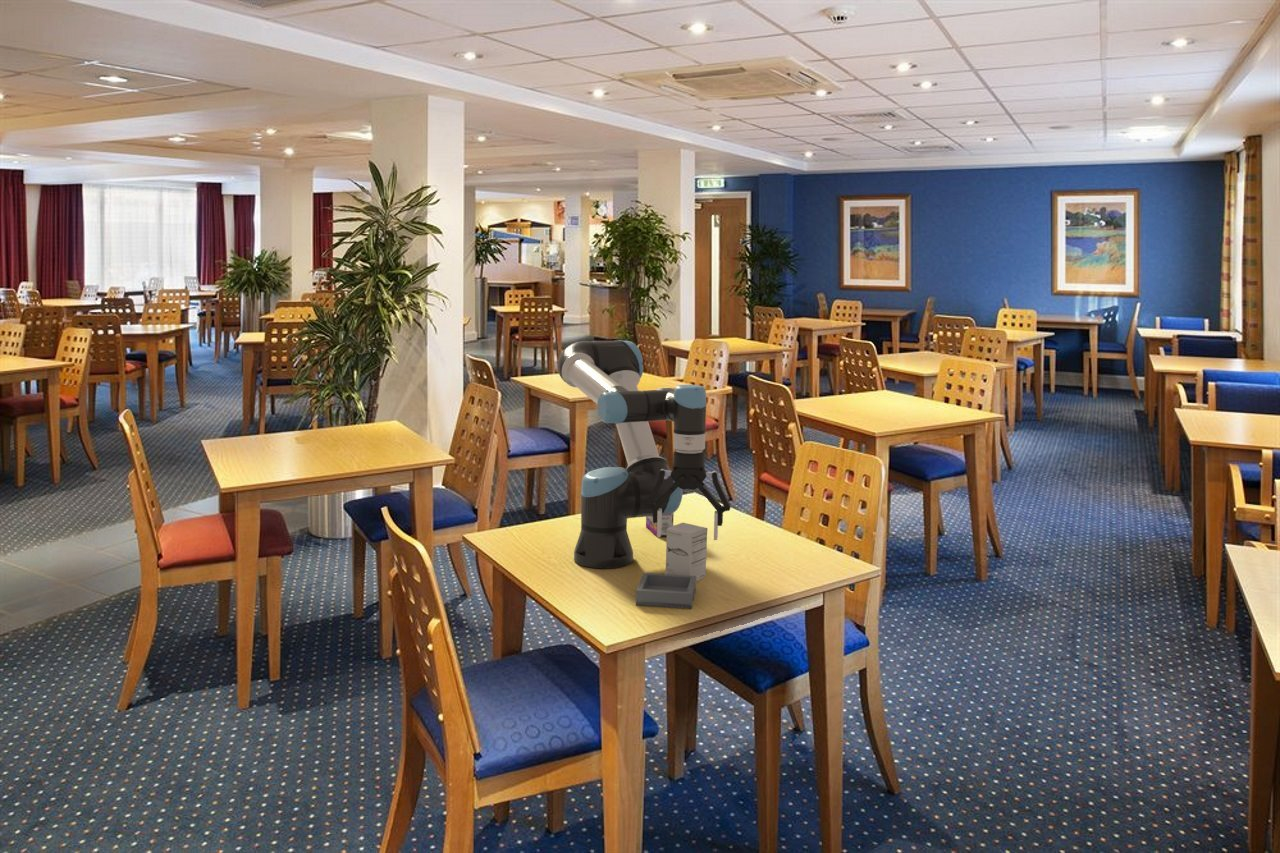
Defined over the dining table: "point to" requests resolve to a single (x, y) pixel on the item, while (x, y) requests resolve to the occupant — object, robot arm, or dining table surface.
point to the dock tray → (666, 590)
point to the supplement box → (686, 550)
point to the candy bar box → (666, 522)
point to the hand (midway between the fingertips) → (687, 537)
